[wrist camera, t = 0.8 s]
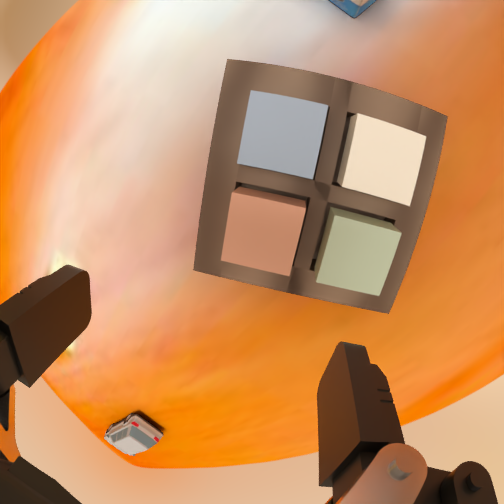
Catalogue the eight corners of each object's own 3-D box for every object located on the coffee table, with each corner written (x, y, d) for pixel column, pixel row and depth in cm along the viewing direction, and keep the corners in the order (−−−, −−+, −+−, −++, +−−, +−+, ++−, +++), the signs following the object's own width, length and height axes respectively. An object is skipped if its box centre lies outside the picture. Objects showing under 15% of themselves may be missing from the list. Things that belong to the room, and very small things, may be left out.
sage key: (390, 222, 20) (401, 233, 17) (371, 280, 21) (379, 295, 19) (330, 206, 20) (334, 215, 18) (314, 267, 22) (315, 282, 19)
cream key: (412, 136, 17) (426, 136, 15) (397, 198, 19) (409, 206, 17) (350, 116, 18) (358, 113, 15) (336, 181, 19) (341, 186, 17)
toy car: (106, 425, 41) (94, 444, 37) (138, 406, 37) (124, 430, 32) (132, 444, 42) (121, 464, 38) (168, 428, 38) (157, 453, 33)
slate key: (324, 110, 18) (328, 105, 16) (310, 175, 20) (312, 179, 17) (256, 96, 18) (250, 90, 16) (244, 161, 20) (236, 163, 18)
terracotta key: (305, 200, 20) (306, 208, 18) (290, 261, 22) (289, 276, 20) (239, 186, 21) (231, 192, 18) (228, 247, 22) (220, 260, 20)
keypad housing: (428, 118, 20) (447, 116, 16) (379, 293, 25) (388, 313, 22) (237, 70, 21) (227, 59, 17) (206, 254, 27) (193, 270, 23)
